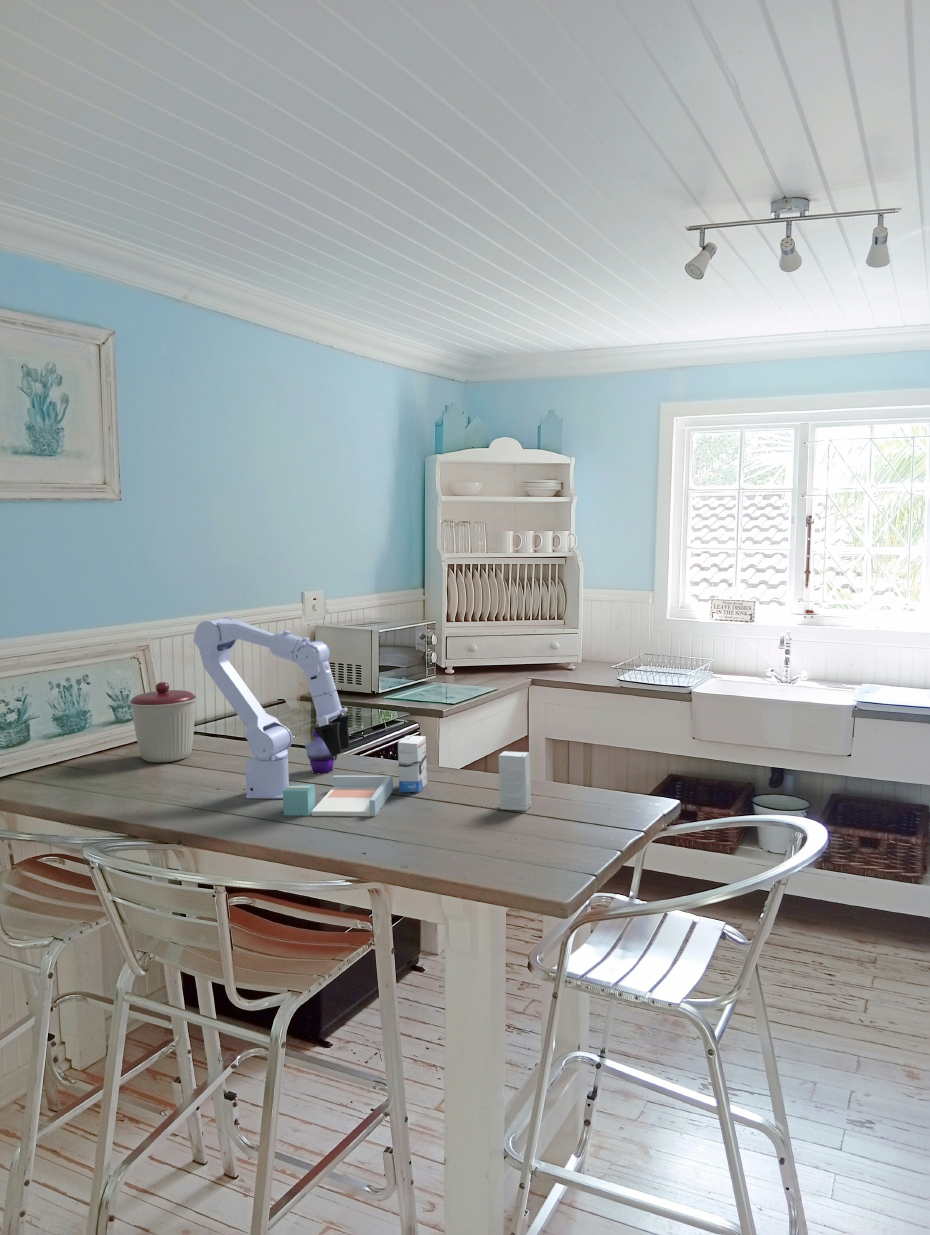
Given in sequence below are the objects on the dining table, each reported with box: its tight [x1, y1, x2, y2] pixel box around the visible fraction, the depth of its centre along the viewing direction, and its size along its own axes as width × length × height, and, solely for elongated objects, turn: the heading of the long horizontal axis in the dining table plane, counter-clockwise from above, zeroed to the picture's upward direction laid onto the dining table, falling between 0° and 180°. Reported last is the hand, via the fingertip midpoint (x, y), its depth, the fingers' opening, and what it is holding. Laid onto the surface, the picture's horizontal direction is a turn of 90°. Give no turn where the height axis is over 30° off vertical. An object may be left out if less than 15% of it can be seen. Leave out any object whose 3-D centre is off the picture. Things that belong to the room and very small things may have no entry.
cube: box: [282, 783, 316, 817], centre depth 211 cm, size 6×6×6 cm
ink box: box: [397, 734, 428, 794], centre depth 227 cm, size 8×5×12 cm, turn 168°
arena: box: [311, 774, 394, 817], centre depth 217 cm, size 14×20×4 cm
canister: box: [127, 681, 199, 763], centre depth 263 cm, size 18×18×21 cm
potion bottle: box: [305, 723, 338, 775], centre depth 245 cm, size 9×9×12 cm
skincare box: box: [497, 750, 532, 812], centre depth 210 cm, size 6×4×12 cm
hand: (340, 751), depth 219 cm, fingers open, 7 cm apart
